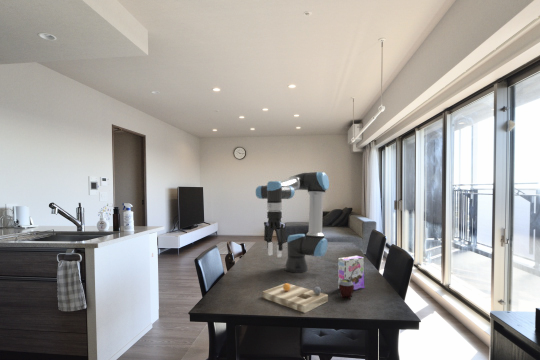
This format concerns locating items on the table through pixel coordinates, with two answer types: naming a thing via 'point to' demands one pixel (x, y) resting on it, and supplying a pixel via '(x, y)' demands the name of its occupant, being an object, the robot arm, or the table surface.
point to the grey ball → (317, 290)
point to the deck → (295, 297)
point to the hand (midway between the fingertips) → (274, 255)
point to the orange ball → (286, 287)
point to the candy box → (348, 266)
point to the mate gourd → (346, 287)
